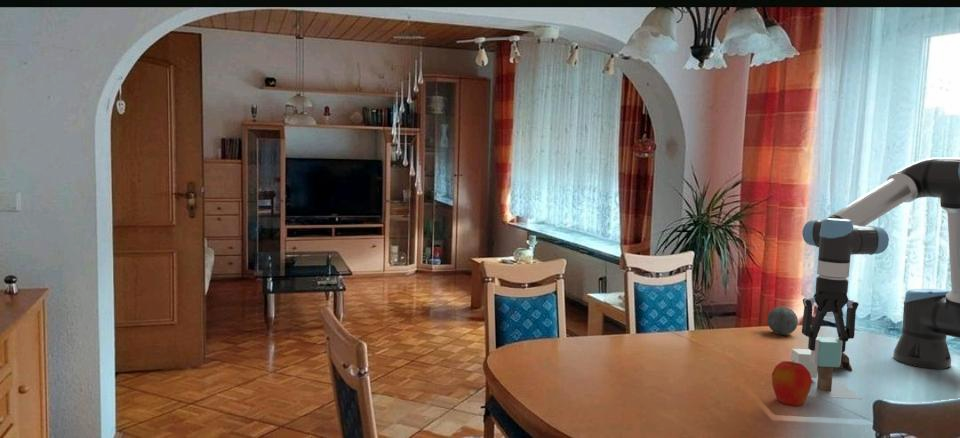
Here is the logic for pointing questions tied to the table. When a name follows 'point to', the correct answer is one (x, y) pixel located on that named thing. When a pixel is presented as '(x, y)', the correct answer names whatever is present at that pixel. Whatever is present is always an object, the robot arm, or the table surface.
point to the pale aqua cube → (829, 352)
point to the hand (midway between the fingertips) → (825, 362)
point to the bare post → (824, 378)
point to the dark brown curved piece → (843, 362)
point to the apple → (791, 383)
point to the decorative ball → (782, 320)
